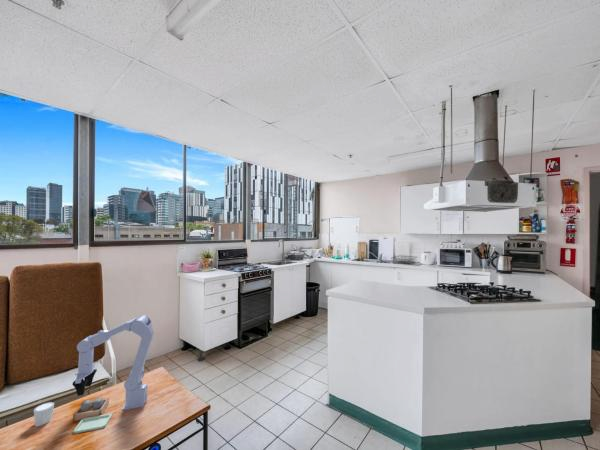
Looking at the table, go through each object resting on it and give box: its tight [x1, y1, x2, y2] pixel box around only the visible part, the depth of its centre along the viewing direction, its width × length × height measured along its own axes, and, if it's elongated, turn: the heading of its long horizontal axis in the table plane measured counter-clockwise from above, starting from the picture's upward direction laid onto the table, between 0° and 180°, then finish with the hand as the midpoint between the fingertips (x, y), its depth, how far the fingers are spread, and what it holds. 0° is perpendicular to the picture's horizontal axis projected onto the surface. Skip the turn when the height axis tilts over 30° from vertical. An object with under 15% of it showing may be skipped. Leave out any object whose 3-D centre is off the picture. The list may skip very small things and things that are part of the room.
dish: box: [72, 398, 110, 422], centre depth 124 cm, size 11×9×3 cm
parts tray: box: [72, 412, 114, 435], centre depth 116 cm, size 12×9×1 cm
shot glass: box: [33, 401, 55, 427], centre depth 118 cm, size 7×7×7 cm
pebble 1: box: [80, 399, 92, 413], centre depth 123 cm, size 4×4×5 cm
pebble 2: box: [92, 397, 104, 410], centre depth 125 cm, size 4×4×5 cm
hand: (84, 390), depth 126 cm, fingers open, 7 cm apart
